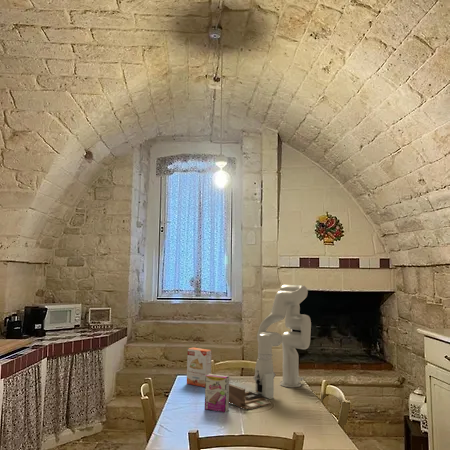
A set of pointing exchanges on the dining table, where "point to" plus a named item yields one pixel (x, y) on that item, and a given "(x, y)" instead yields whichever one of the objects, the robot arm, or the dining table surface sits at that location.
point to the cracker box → (198, 366)
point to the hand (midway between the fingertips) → (264, 390)
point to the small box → (267, 386)
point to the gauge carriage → (254, 395)
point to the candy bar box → (217, 392)
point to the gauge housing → (239, 399)
